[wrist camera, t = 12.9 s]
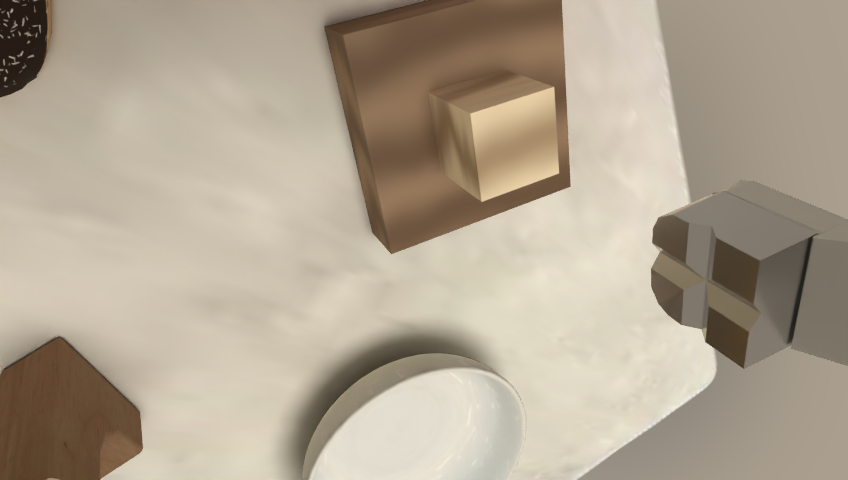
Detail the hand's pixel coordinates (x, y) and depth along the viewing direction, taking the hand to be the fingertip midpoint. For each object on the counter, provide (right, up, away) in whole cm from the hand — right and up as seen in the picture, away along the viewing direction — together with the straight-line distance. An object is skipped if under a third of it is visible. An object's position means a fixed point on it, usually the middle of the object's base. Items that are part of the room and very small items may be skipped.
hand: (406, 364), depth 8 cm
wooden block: (-25, -9, +37) cm, 46 cm away
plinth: (+2, +12, +40) cm, 42 cm away
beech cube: (+4, +10, +37) cm, 38 cm away
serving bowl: (-3, -15, +51) cm, 54 cm away
